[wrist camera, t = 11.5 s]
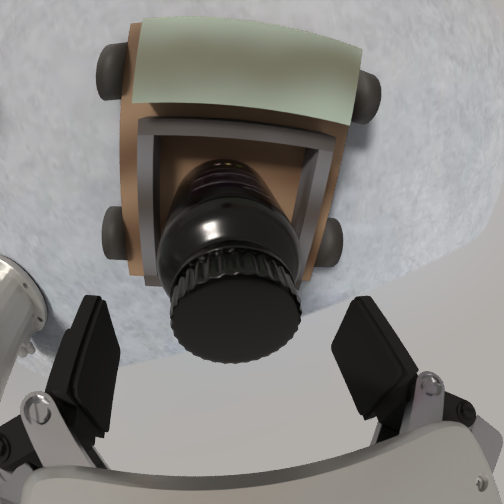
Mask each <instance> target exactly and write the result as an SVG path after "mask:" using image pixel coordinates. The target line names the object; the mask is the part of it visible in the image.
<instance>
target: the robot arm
mask: <svg viewBox="0 0 504 504" xmlns="http://www.w3.org/2000/svg"><path fill="white" fill-rule="evenodd" d="M46 321H47V307H46V303H45V301H44V298H43V296H42V294H41V292H40V290H39V289H38V287H37V286H36V284H35V283H34V281H33V280H32V279H31V278H30V276H29V275H28V274H27V273H26V272H25V271H24V270H23V269H22V268H21V267H20V266H18V265H17V264H16V263H15V262H13V261H12V260H10V259H8V258H7V257H4V256H1V255H0V401H1V398H2V395H3V392H4V389H5V386H6V384H7V381H8V378H9V376H10V373H11V370H12V368H13V365H14V363H15V361H16V358H17V356H18V354H19V356H20V357H22V358H23V357H26V356H27V354H28V353H29V354H33V353H35V350H36V349H35V347H34V346H33V344H32V342H31V341H30V339H31V336H32V334H33V333H34V332H38V331H40V330H41V329H42V328H43V327H44V325H45V323H46ZM331 349H332V353H333V355H334V357H335V360H336V361H337V364H338V366H339V368H340V371H341V373H342V375H343V378H344V379H345V382H346V384H347V386H348V389H349V391H350V394H351V396H352V398H353V401H354V403H355V405H356V408H357V410H358V412H359V414H360V415H363V417H364V420H368V419H370V418H374V417H376V416H377V418H378V423H377V426H376V429H375V433H374V435H373V439H372V441H371V444H370V446H369V447H366V448H363V449H360V450H357V451H354V452H351V453H348V454H344V455H341V456H338V457H334V458H330V459H326V460H322V461H318V462H315V463H310V464H306V465H301V466H296V467H291V468H285V469H280V470H273V471H267V472H259V473H251V474H240V475H228V476H205V477H204V476H203V477H186V476H163V475H148V474H137V473H129V472H121V471H114V470H111V469H110V468H109V466H108V465H107V464H106V462H105V461H104V460H103V459H102V457H101V455H100V454H99V453H98V451H97V450H96V448H95V447H94V444H95V437H100V438H104V435H105V432H108V431H109V427H110V426H109V425H110V418H111V410H112V401H113V395H114V389H115V382H116V376H117V370H118V365H119V360H120V347H119V344H118V341H117V338H116V335H115V331H114V328H113V325H112V321H111V318H110V314H109V311H108V307H107V304H106V301H105V300H102V299H101V297H100V296H94V295H85V296H84V298H83V300H82V302H81V305H80V307H79V309H78V312H77V314H76V316H75V319H74V321H73V324H72V326H71V329H67V330H66V332H65V334H64V336H63V338H62V341H61V344H60V346H59V349H58V352H57V355H56V358H55V360H54V363H53V366H52V369H51V373H50V376H49V379H48V382H47V386H46V389H45V392H42V391H35V392H31V393H29V394H28V395H27V396H25V398H24V399H23V401H22V403H21V407H20V415H18V416H17V417H15V418H13V419H12V420H10V421H9V422H7V423H5V424H3V425H2V426H0V504H502V502H501V498H500V495H499V492H498V489H497V486H496V483H495V480H494V477H493V475H492V473H493V471H494V468H495V466H496V463H497V460H498V457H499V454H500V452H501V448H502V444H503V439H502V436H501V434H500V433H499V432H498V431H497V430H496V429H495V428H493V427H492V426H491V425H490V424H489V423H487V422H486V421H485V420H484V419H482V418H481V417H480V416H478V415H477V416H476V412H475V409H474V407H473V405H472V404H471V403H470V402H468V401H467V400H464V399H462V398H459V397H457V396H455V395H453V394H450V393H448V392H446V391H445V389H444V384H443V381H442V380H441V379H440V377H439V376H437V375H436V374H435V373H433V372H429V371H425V372H422V373H420V374H419V375H417V372H418V370H419V369H418V368H417V366H416V364H415V363H414V361H413V359H412V358H411V356H410V355H409V353H408V351H407V350H406V348H405V347H404V345H403V344H402V342H401V341H400V339H399V337H398V336H397V334H396V333H395V331H394V330H393V329H392V327H391V325H390V324H389V322H388V321H387V319H386V318H385V317H384V315H383V314H382V312H381V311H380V309H379V308H378V307H377V305H376V303H375V302H374V301H373V299H372V298H371V297H370V296H358V297H355V299H354V300H352V301H351V303H350V305H349V308H348V310H347V312H346V314H345V316H344V319H343V321H342V323H341V325H340V327H339V330H338V332H337V334H336V336H335V338H334V340H333V342H332V345H331Z"/></svg>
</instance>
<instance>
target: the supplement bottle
mask: <svg viewBox="0 0 504 504" xmlns="http://www.w3.org/2000/svg"><path fill="white" fill-rule="evenodd" d="M156 264H157V272H158V276H159V279H160V282H161V285H162V287H163V289H164V290H165V292H166V294H167V295H168V296H169V298H170V302H171V308H170V318H171V322H170V324H171V328H172V329H173V333H174V336H175V337H176V338H177V339H178V342H179V344H181V345H182V346H184V347H185V349H186V350H187V351H189V352H191V353H192V354H193V355H195V356H198V357H201V358H202V359H204V360H210V361H212V362H221V363H224V364H227V363H234V364H237V363H241V362H250V361H252V360H258V359H260V358H262V357H266V356H269V355H270V354H271V353H273V352H275V351H277V350H279V349H280V348H281V347H282V346H284V345H286V344H287V342H288V341H289V340H290V339H292V338H293V335H294V333H295V332H296V331H297V330H298V325H299V324H300V322H301V317H300V316H301V314H302V309H301V301H300V298H299V295H298V293H297V291H296V288H295V283H296V281H297V278H298V275H299V271H300V266H301V248H300V243H299V240H298V237H297V235H296V233H295V230H294V228H293V226H292V225H291V223H290V221H289V220H288V218H287V216H286V215H285V213H284V211H283V210H282V208H281V207H280V205H279V203H278V202H277V200H276V199H275V197H274V195H273V194H272V192H271V191H270V189H269V187H268V186H267V184H266V183H265V181H264V180H263V179H262V177H261V176H260V175H259V174H258V173H257V172H256V171H255V170H254V169H253V168H251V167H250V166H248V165H246V164H244V163H242V162H240V161H236V160H232V159H214V160H210V161H207V162H204V163H202V164H200V165H198V166H196V167H195V168H193V169H192V170H191V171H190V172H189V173H188V174H187V175H186V176H185V177H184V178H183V180H182V181H181V183H180V185H179V187H178V189H177V191H176V193H175V196H174V199H173V202H172V205H171V207H170V210H169V213H168V216H167V219H166V222H165V225H164V228H163V231H162V235H161V238H160V241H159V245H158V250H157V259H156Z"/></svg>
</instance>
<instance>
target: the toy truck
mask: <svg viewBox="0 0 504 504" xmlns="http://www.w3.org/2000/svg"><path fill="white" fill-rule="evenodd" d="M361 57H362V49H361V48H358V47H356V46H353V45H350V44H347V43H344V42H341V41H338V40H335V39H332V38H328V37H325V36H322V35H318V34H314V33H310V32H307V31H302V30H298V29H294V28H289V27H285V26H279V25H274V24H268V23H262V22H256V21H248V20H240V19H230V18H216V17H157V18H144V19H143V21H142V23H133V24H131V26H130V31H129V37H128V42H126V43H118V44H110V45H107V46H106V47H105V48H104V49H103V50H102V52H101V54H100V57H99V60H98V63H97V69H96V85H97V90H98V93H99V95H100V97H101V98H102V99H103V100H105V101H106V100H117V99H121V113H120V185H121V202H122V207H119V206H111V207H109V208H108V209H107V211H106V213H105V216H104V220H103V225H102V246H103V251H104V254H105V256H106V258H107V259H113V260H128V267H129V274H130V275H134V276H144V279H145V286H160V287H162V285H161V282H160V279H159V276H158V272H157V264H156V259H157V250H158V245H159V241H160V238H161V235H162V231H163V228H164V225H165V222H166V219H167V216H168V213H169V210H170V207H171V205H172V202H173V199H174V196H175V193H176V191H177V189H178V187H179V185H180V183H181V181H182V180H183V178H184V177H185V176H186V175H187V174H188V173H189V172H190V171H191V170H192V169H193V168H195V167H196V166H198V165H200V164H202V163H204V162H207V161H210V160H214V159H232V160H236V161H240V162H242V163H244V164H246V165H248V166H250V167H251V168H253V169H254V170H255V171H256V172H257V173H258V174H259V175H260V176H261V177H262V179H263V180H264V181H265V183H266V184H267V186H268V187H269V189H270V191H271V192H272V194H273V195H274V197H275V199H276V200H277V202H278V203H279V205H280V207H281V208H282V210H283V211H284V213H285V215H286V216H287V218H288V220H289V221H290V223H291V225H292V226H293V228H294V230H295V233H296V235H297V237H298V240H299V243H300V248H301V266H300V271H299V275H298V278H297V281H296V283H295V288H296V290H299V287H300V284H301V281H310V278H311V275H312V271H313V268H314V267H333V266H335V265H336V264H337V263H338V261H339V259H340V257H341V253H342V249H343V232H342V228H341V225H340V223H339V222H338V220H337V219H335V218H328V214H329V210H330V206H331V202H332V198H333V194H334V190H335V186H336V182H337V178H338V173H339V169H340V165H341V160H342V156H343V151H344V146H345V141H346V137H347V132H348V127H349V126H350V123H351V121H352V122H355V123H359V124H367V123H368V122H370V121H371V120H372V119H373V118H374V116H375V115H376V113H377V111H378V108H379V105H380V101H381V86H380V83H379V80H378V79H377V77H376V76H374V75H373V74H370V73H367V72H364V71H362V70H360V64H361Z"/></svg>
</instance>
